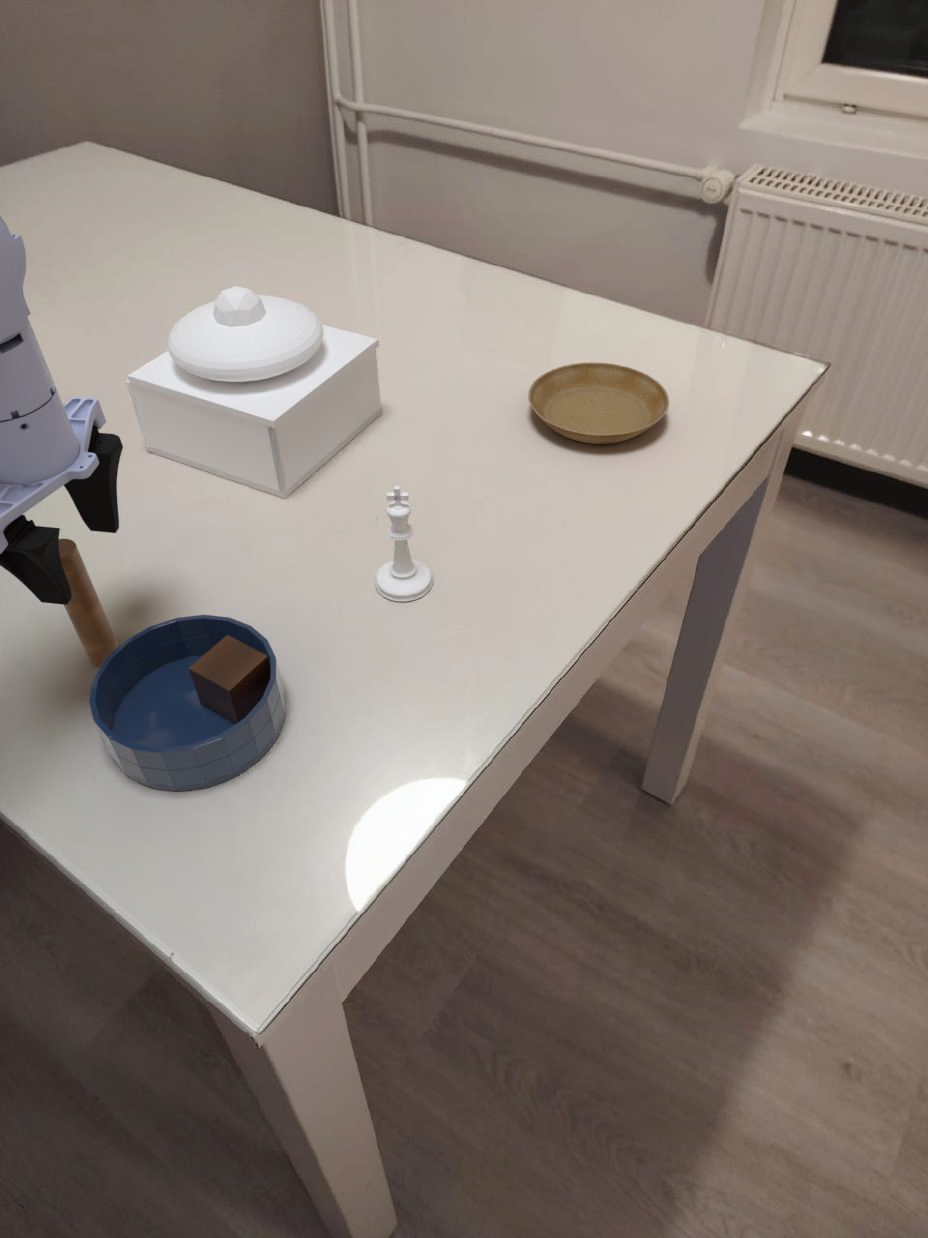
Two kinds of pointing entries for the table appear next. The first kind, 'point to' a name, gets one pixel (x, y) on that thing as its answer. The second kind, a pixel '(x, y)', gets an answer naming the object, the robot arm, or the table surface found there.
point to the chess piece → (402, 557)
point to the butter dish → (256, 391)
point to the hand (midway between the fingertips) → (81, 563)
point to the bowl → (180, 707)
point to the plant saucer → (598, 402)
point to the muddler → (86, 606)
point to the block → (231, 678)
